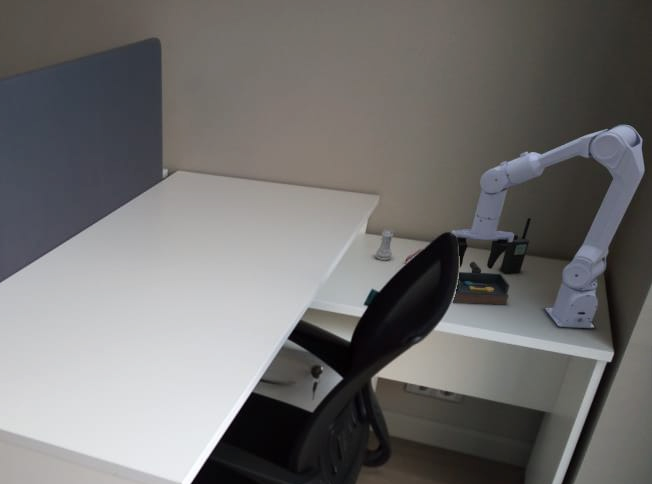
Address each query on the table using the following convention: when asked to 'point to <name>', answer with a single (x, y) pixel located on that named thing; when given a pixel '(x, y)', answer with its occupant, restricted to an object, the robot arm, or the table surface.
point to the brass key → (482, 289)
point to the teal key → (468, 283)
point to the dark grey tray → (477, 277)
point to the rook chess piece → (385, 246)
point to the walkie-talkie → (515, 252)
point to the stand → (480, 298)
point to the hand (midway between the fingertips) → (473, 266)
